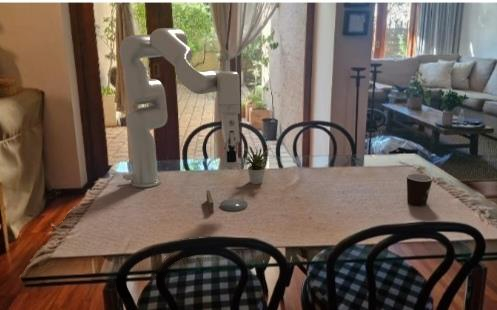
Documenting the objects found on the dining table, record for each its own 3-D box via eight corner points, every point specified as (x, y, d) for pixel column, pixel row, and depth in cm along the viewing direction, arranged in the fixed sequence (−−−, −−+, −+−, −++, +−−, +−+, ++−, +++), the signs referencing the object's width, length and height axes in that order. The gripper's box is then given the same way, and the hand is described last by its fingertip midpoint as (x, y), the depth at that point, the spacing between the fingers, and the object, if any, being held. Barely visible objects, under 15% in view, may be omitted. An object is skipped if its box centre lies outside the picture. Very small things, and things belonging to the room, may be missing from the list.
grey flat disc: (222, 212, 149) (221, 210, 149) (218, 201, 158) (218, 200, 158) (249, 209, 151) (249, 208, 150) (244, 199, 160) (244, 197, 160)
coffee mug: (417, 209, 149) (420, 182, 146) (399, 201, 156) (401, 175, 154) (440, 203, 154) (443, 177, 151) (421, 195, 162) (424, 170, 159)
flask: (238, 168, 146) (237, 140, 143) (217, 167, 147) (216, 139, 144) (242, 162, 152) (242, 135, 150) (223, 161, 154) (222, 134, 151)
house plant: (230, 185, 175) (229, 147, 170) (243, 174, 187) (243, 138, 182) (263, 189, 170) (263, 150, 165) (274, 178, 182) (274, 141, 177)
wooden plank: (210, 213, 148) (209, 202, 147) (206, 200, 159) (206, 190, 158) (213, 213, 148) (213, 202, 147) (210, 200, 160) (209, 190, 158)
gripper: (244, 112, 137) (245, 166, 142) (236, 104, 153) (237, 152, 158) (221, 113, 136) (222, 167, 141) (215, 105, 152) (217, 154, 157)
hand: (230, 159), depth 149 cm, fingers closed on flask, 4 cm apart
